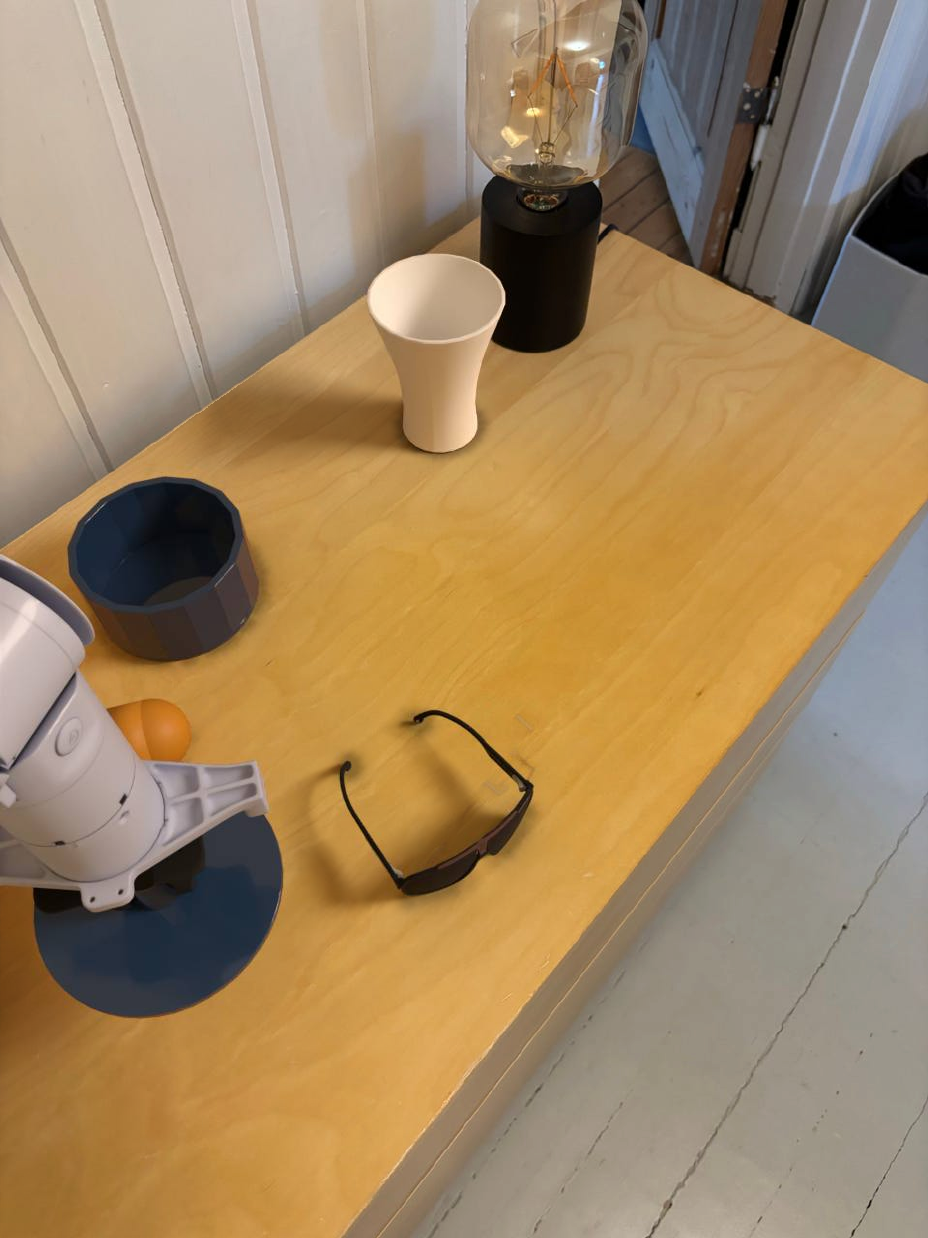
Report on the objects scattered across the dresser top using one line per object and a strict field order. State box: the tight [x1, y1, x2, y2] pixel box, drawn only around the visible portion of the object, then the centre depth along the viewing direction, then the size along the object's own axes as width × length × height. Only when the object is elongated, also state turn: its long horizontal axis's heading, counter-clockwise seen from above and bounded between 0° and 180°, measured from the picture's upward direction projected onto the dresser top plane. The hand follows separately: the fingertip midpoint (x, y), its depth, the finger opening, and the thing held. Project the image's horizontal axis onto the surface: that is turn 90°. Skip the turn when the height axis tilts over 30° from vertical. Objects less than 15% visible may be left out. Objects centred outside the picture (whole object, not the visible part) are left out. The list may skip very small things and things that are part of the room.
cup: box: [365, 253, 506, 453], centre depth 76 cm, size 10×10×14 cm
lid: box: [32, 811, 284, 1020], centre depth 50 cm, size 13×13×4 cm
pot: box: [66, 475, 260, 663], centre depth 69 cm, size 12×12×6 cm
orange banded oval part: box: [105, 698, 192, 762], centre depth 62 cm, size 7×5×5 cm
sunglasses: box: [338, 709, 535, 897], centre depth 61 cm, size 11×12×5 cm
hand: (155, 883), depth 50 cm, fingers closed on lid, 2 cm apart
